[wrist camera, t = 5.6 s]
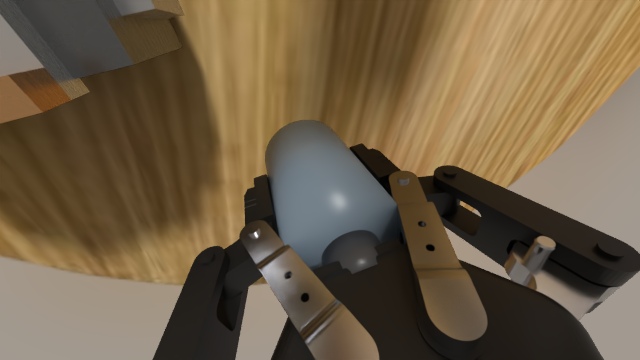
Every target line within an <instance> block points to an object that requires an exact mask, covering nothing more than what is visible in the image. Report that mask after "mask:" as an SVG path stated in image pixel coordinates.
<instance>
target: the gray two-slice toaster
mask: <svg viewBox="0 0 640 360" xmlns="http://www.w3.org/2000/svg"><path fill="white" fill-rule="evenodd" d="M179 16H184V13H183V11H182V9H181V6H180V4H179V2H178V0H0V123H4V122H8V121H12V120H16V119H19V118H23V117H27V116H31V115H35V114H39V113H43V112H45V111H47V110H50V109H52V108H54V107H56V106H59V105H61V104H63V103H66V102H68V101H70V100H73V99H75V98H77V97H79V96H82V95H84V94H86V93H89V92H90V91H89V90H88V88H87V87H86V86H85V84H84V83H83V82H82V81H81V79H80V78H82V77H86V76H90V75H94V74H98V73H102V72H106V71H110V70H114V69H118V68H122V67H126V66H130V65H134V64H137V63H140V62H143V61H146V60H148V59H151V58H154V57H157V56H160V55H162V54H165V53H168V52H171V51H174V50H176V49H179V48H182V45H181V43H180V41H179V39H178V37H177V35H176V33H175V31H174V29H173V26H172V24H171V22H170V20H169V19H170V18H175V17H179Z"/></svg>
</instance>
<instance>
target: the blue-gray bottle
mask: <svg viewBox="0 0 640 360" xmlns="http://www.w3.org/2000/svg"><path fill="white" fill-rule="evenodd" d="M265 163H266V169H267V174H268V179H269V185H270V190H271V195H272V201H273V206H274V211H275V216H276V222H277V228H278V233H279V238H280V239H281V240H282V241H283V242H284V245H285V246H286V245H287V244H288V245H289V246H291V248H292V249H293V250H294V251H295V252H296V253H297V255H298V256H299V257H300V258H301V259H302V260H303V261H304V263H305V264H306V265H307V266H308V267H309V268H310V269H311V271H312V272H313V270H314V269H316V268H319V267H321V266H324V265H327V264H329V263H332V262H336V261H340V264H341V266H342V269H344V268H347V269H348V270H350V271H351V273H352V274H354V273H356V272H359V271H362V270H364V269H367V268H369V267H372V266H374V265H377V264H378V263H377V261H376V256H378V253H377V252H376V250H375V248H374V247H375V246H376V245H379V244H381V243H384V242H387V241H389V240H392V239H394V238H397V203H396V202H395V201H394V200H393V198H392V197H391V196H390V195H389V194H388V193H387V191H386V190H385V189H384V188H383V187H382V186H381V185H380V183H379V182H378V181H377V180H376V179H375V178H374V177H373V175H372V174H371V173H370V172H369V171H368V170H367V169H366V167H365V166H364V165H363V164H362V163H361V162H360V161H359V159H358V158H357V157H356V156H355V155H354V154H353V153H352V151H351V150H350V149H349V148H348V147H347V146H346V145H345V143H344V142H343V141H342V140H341V139H340V138H339V136H338V135H337V134H336V133H335V132H334V131H333V130H332V129H331V128H330V127H329V126H327V125H326V124H324V123H321V122H318V121H314V120H300V121H296V122H293V123H290V124H288V125H286V126H284V127H283V128H281V129H280V130H279V131H278V132H277V133H276V134H275V135H274V136H273V137H272V139H271V140H270V142H269V144H268V146H267V149H266V153H265Z"/></svg>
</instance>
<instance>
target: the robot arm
mask: <svg viewBox="0 0 640 360" xmlns="http://www.w3.org/2000/svg"><path fill="white" fill-rule="evenodd" d="M350 150H351V151H352V153H353V154H354V155H355V156H356V157H357V158H358V159H359V161H360V162H361V163H362V164H363V165H364V166H365V167H366V169H367V170H368V171H369V172H370V173H371V174H372V175H373V177H374V178H375V179H376V180H377V181H378V182H379V183H380V185H381V186H382V187H383V188H384V189H385V190H386V191H387V193H388V194H389V195H390V196H391V197H392V198H393V200H394V201H395V202H396V203H397V238H394V239H392V240H389V241H387V242H384V243H381V244H379V245H376V246H375V247H374V248H375V250H376V252H377V253H378V256H376V261H377V263H378V264H377V265H374V266H372V267H369V268H367V269H364V270H362V271H359V272H356V273H354V274H352V273H351V271H350V270H348V269H347V268H344V269H342V266H341V264H340V261H336V262H332V263H329V264H327V265H324V266H321V267H319V268H316V269H314V270H313V272H312V271H311V269H310V268H309V267H308V266H307V265H306V264H305V263H304V261H303V260H302V259H301V258H300V257H299V256H298V255H297V253H296V252H295V251H294V250H293V249H292V248H291V246H289V245H288V244H287V245H286V246H285V245H284V242H283V241H282V240H281V239H280V238H279V233H278V228H277V222H276V216H275V211H274V206H273V201H272V195H271V190H270V185H269V179H268V177H267V175H266V174H265V175H262V176H259V177H256V178H254V187H253V188H250V189H248V190H247V192H246V194H245V195H244V202H245V227H244V228H243V229H242V230H241V232H240V238H239V239H238V240H237V241H236V242H235V243H233V244H232V245H230V246H229V247H227V248H225V249H223V248H222V247H220V246H213V247H209V248H207V249H205V250H204V251H202V252H201V253H200V254H199V255H198V256H197V257H196V259H195V260H194V262H193V265H192V267H191V269H190V272H189V274H188V277H187V279H186V281H185V284H184V286H183V288H182V291H181V293H180V296H179V298H178V300H177V303H176V305H175V308H174V310H173V312H172V315H171V317H170V319H169V322H168V324H167V327H166V329H165V331H164V334H163V336H162V339H161V341H160V343H159V346H158V348H157V350H156V353H155V355H154V358H153V360H235V357H236V352H237V347H238V341H239V336H240V330H241V325H242V319H243V314H244V309H245V303H246V298H247V293H248V287H249V286H250V285H251V284H253V283H254V282H256V281H257V280H258V279H260V278H261V277H262V276H263V277H264V278H265V280H266V281H267V283H268V284H269V286H270V288H271V289H272V291H273V292H274V294H275V296H276V297H277V298H278V300H279V302H280V303H281V305H282V306H283V308H284V310H285V311H286V313H287V315H288V318H287V321H286V323H285V326H284V328H283V331H282V333H281V336H280V338H279V341H278V343H277V346H276V348H275V350H274V353H273V355H272V358H271V360H604V359H603V357H602V356H601V354H600V353H599V351H598V349H597V348H596V346H595V344H594V342H593V341H592V339H591V337H590V335H589V334H588V332H587V331H586V329H585V328H584V327H583V325H582V324H581V323H580V322H579V320H580V319H581V318H582V317H583V316H584V315H585V314H586V313H590V312H591V311H593V310H594V309H595V308H596V307H597V306H598V305H600V304H601V303H602V302H603V301H604V300H606V299H607V298H608V297H609V296H610V295H612V294H613V293H614V292H615V291H616V290H617V289H619V288H620V287H621V286H622V285H623V284H624V283H626V282H627V281H628V280H629V279H630V278H632V277H633V276H634V275H635V274H636V273H638V272H639V271H640V254H639V253H638V252H637V251H636V250H635V249H634V248H632V247H631V246H629V245H628V244H626V243H624V242H622V241H620V240H618V239H616V238H614V237H611V236H609V235H607V234H605V233H603V232H600V231H598V230H596V229H594V228H592V227H589V226H587V225H585V224H583V223H580V222H578V221H576V220H574V219H571V218H569V217H567V216H565V215H563V214H560V213H558V212H556V211H554V210H552V209H549V208H547V207H545V206H543V205H541V204H538V203H536V202H534V201H532V200H530V199H527V198H525V197H523V196H521V195H518V194H516V193H514V192H512V191H510V190H507V189H505V188H503V187H501V186H499V185H496V184H494V183H492V182H490V181H488V180H485V179H483V178H481V177H479V176H476V175H474V174H472V173H470V172H468V171H465V170H463V169H461V168H459V167H456V166H448V165H447V166H441V167H438V168H437V169H435V171H434V176H426V177H417V176H416V175H415V174H414V173H412V172H409V171H401V170H400V169H399V168H398V167H396V166H395V165H394V164H393V163H392V162H391V161H390V160H388V158H387V157H385V156H384V155H383V154H382V153H381V152H380V151H378V150H375V149H373V148H372V149H367V148H366V147H365V146H364V145H363V144H362V143H361V144H358V145H355V146H352V147H350ZM460 200H461V201H463V202H464V203H466V204H468V205H470V206H471V207H473V208H475V209H476V210H478V211H479V213H480V214H481V217H480V216H478V215H476V214H475V213H473V212H471V211H470V210H468V209H466V208H464V207H463V206H461V205H460ZM444 226H445V227H446V228H448V229H449V230H451V231H452V232H454V233H455V234H456V235H458V236H459V237H461V238H462V239H464V240H465V241H466V242H468V243H469V244H471V245H472V246H474V247H475V248H477V249H478V250H479V251H481V252H482V253H484V254H485V255H487V256H488V257H490V258H491V259H492V260H494V261H495V262H497V263H498V264H500V265H501V266H503V267H504V268H505V270H506V273H507V274H508V276H509V277H510V278H511V280H509V279H506V278H504V277H501V276H499V275H496V274H494V273H491V272H489V271H486V270H484V269H481V268H479V267H476V266H474V265H471V264H468V263H466V262H464V261H461V260H459V259H458V258H457V256H456V254H455V251H454V249H453V247H452V244H451V242H450V240H449V238H448V235H447V233H446V231H445V228H444Z"/></svg>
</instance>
